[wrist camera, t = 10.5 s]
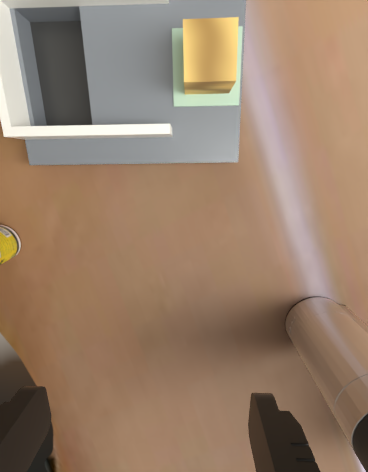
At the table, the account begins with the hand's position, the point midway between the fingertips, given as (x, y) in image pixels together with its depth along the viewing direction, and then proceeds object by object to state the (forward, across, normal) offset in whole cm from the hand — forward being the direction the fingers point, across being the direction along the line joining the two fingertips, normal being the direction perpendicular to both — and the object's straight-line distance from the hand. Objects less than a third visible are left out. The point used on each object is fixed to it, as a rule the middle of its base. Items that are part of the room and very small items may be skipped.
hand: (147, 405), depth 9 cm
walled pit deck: (+27, +6, -19) cm, 34 cm away
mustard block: (+24, -3, -19) cm, 31 cm away
